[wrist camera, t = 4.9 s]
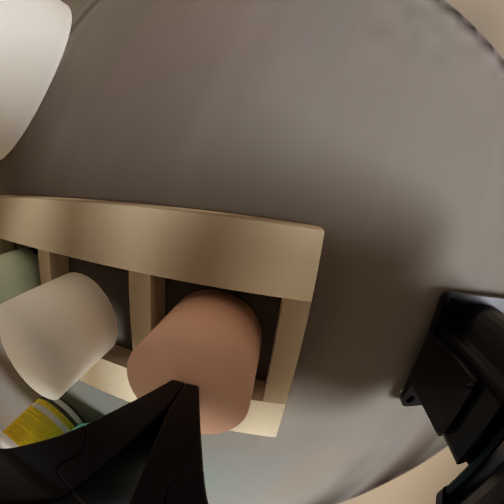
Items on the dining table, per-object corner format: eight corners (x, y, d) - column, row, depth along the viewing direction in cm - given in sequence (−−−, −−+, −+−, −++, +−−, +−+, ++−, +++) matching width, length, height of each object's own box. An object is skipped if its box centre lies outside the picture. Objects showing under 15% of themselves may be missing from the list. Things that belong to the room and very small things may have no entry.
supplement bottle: (36, 382, 15) (-31, 441, 6) (79, 406, 15) (10, 484, 5) (55, 423, 17) (3, 481, 7) (97, 446, 16) (47, 517, 6)
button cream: (114, 282, 10) (46, 322, 6) (122, 363, 11) (74, 415, 7) (51, 264, 10) (-12, 290, 6) (62, 338, 11) (12, 374, 7)
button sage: (45, 252, 12) (-9, 271, 8) (53, 318, 13) (8, 347, 9) (11, 243, 12) (-35, 257, 8) (19, 301, 13) (-22, 322, 9)
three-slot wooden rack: (319, 225, 10) (324, 231, 9) (277, 417, 12) (275, 437, 11) (6, 194, 12) (-10, 196, 10) (21, 330, 14) (8, 338, 13)
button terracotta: (268, 298, 11) (258, 354, 7) (255, 377, 11) (242, 444, 8) (171, 281, 11) (120, 322, 7) (171, 360, 12) (134, 414, 8)
